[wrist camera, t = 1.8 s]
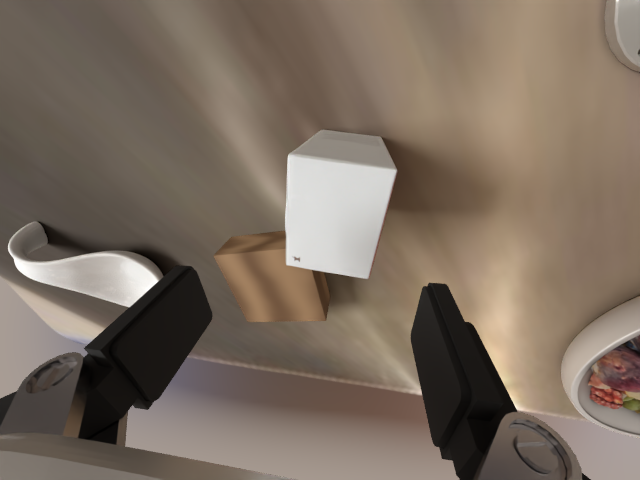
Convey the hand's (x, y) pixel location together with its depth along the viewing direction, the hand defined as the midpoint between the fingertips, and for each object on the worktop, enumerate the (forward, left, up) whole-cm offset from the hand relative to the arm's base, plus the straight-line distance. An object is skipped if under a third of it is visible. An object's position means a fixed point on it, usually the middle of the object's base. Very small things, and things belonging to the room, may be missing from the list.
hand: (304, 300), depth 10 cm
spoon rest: (+39, +15, -20) cm, 46 cm away
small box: (0, 0, -20) cm, 20 cm away
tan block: (+8, +14, -20) cm, 26 cm away
